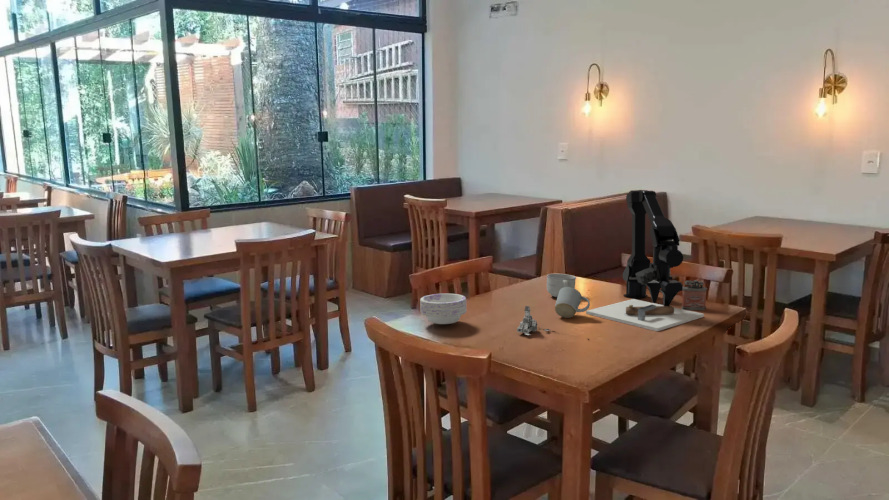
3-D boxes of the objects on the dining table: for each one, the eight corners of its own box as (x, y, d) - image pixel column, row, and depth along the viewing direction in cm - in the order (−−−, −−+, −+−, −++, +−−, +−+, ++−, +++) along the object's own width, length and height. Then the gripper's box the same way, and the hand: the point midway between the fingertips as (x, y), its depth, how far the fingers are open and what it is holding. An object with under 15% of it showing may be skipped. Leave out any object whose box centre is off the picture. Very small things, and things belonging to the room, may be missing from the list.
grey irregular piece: (540, 336, 204) (541, 312, 203) (514, 333, 208) (514, 309, 207) (551, 329, 212) (551, 305, 210) (525, 326, 216) (525, 302, 215)
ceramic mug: (561, 321, 225) (548, 305, 222) (567, 304, 230) (555, 288, 228) (588, 315, 218) (575, 298, 215) (593, 297, 224) (581, 281, 221)
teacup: (546, 292, 260) (546, 272, 259) (574, 293, 259) (575, 272, 257) (546, 301, 247) (547, 279, 245) (576, 301, 245) (577, 280, 244)
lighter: (704, 307, 234) (705, 279, 233) (707, 310, 231) (708, 281, 229) (680, 307, 235) (681, 279, 233) (682, 309, 232) (684, 281, 230)
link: (627, 315, 221) (627, 306, 220) (624, 312, 224) (624, 304, 223) (674, 313, 221) (674, 305, 221) (670, 311, 224) (671, 303, 224)
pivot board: (586, 313, 228) (586, 310, 228) (632, 301, 244) (633, 298, 244) (657, 331, 207) (657, 327, 206) (703, 316, 222) (703, 313, 222)
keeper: (637, 319, 216) (638, 308, 216) (651, 315, 221) (651, 304, 220) (641, 320, 215) (642, 309, 214) (655, 316, 220) (656, 305, 219)
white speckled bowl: (433, 313, 232) (433, 290, 231) (473, 317, 226) (473, 294, 224) (412, 324, 219) (411, 300, 217) (454, 329, 212) (454, 305, 211)
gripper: (627, 257, 233) (625, 300, 236) (652, 267, 215) (650, 314, 218) (656, 255, 235) (655, 298, 238) (684, 265, 217) (682, 312, 220)
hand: (659, 305), depth 229 cm, fingers open, 8 cm apart
